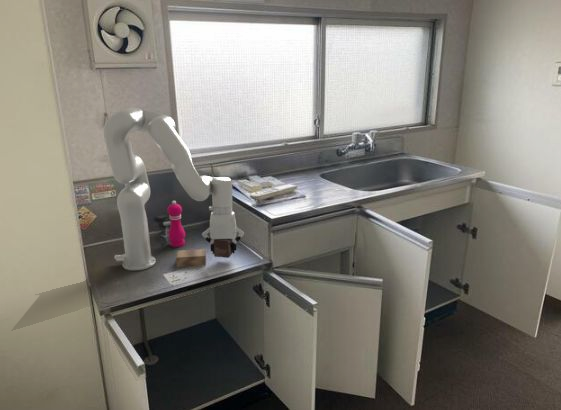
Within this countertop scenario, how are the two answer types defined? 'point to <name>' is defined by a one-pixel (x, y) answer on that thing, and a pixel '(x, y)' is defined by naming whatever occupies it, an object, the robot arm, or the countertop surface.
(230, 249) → the box
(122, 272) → the countertop surface
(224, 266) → the countertop surface
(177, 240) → the pepper mill
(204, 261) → the light brown rectangular block
